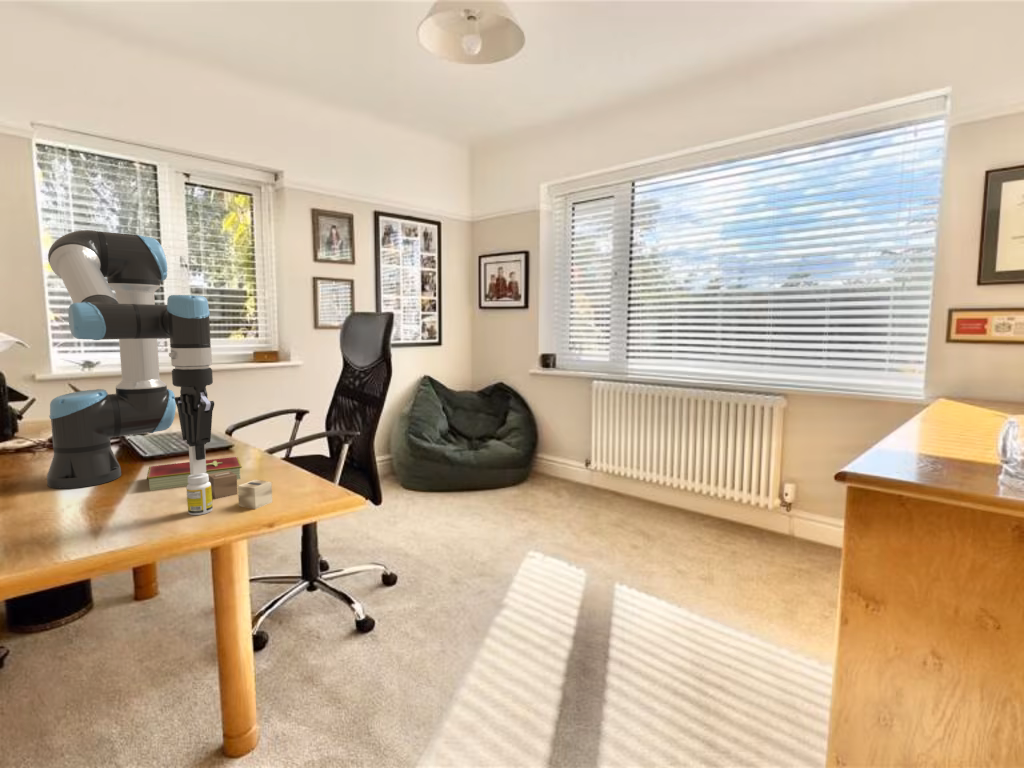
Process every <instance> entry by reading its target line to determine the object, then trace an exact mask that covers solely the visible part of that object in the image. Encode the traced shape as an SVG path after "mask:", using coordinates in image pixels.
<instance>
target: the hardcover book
mask: <svg viewBox="0 0 1024 768" xmlns="http://www.w3.org/2000/svg"><path fill="white" fill-rule="evenodd" d="M242 467H243V466H242V464H241V462H240V459H239V456H229V457H223V458H222V457H220V458H214V459H206V473H207V474H213V473H219V472H225V471H231V472H233V473H234V474H236V475H237V480H241V469H242ZM189 475H192V474H190V461H187V462H186V461H185V462H177V463H169V464H159V465H152V466H151V465H150V466H149V467H148V471H147V475H146V480H148V487H149V491H157V490H164V489H165V490H166V489H173V488H179V487H181V488H182V487H187V485H188V484H189V483H188V476H189Z"/></svg>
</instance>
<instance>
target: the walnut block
mask: <svg viewBox="0 0 1024 768" xmlns="http://www.w3.org/2000/svg"><path fill="white" fill-rule="evenodd" d="M208 476H209V481H208V482H210V483H211V490H212V499H215V500H217V499H223V498H226V497H232V496H235V495H238V479H237V475H236V474H234V473H233V472H231V471H225V472H219V473H213V474H208Z"/></svg>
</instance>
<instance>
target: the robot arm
mask: <svg viewBox="0 0 1024 768" xmlns="http://www.w3.org/2000/svg"><path fill="white" fill-rule="evenodd" d="M47 258H48V259H47V260H48V263H49V265H50V268H51V271H53V273H54V274H55V275H56V276H58V277H59V278H61V280H62V282H63V284H64V286H65V289H66V290H67V292H68V294H69V296H70V299H71V301H72V303H71V304H70V305H69V308H68V313H67V314H68V325H69V329H70V333H71V336H72V337H74V338H75V339H78V340H93V341H100V340H118V342H119V344H118V345H119V357H120V358H119V359H120V368H121V369H120V370H121V381H120V382H119V383H117V384H116V386H115V393H112V394H111V393H108V392H107V390H106V389H103V388H102V389H101V388H97V389H88V390H81V391H75V392H74V391H73V392H69V393H65V394H62V395H58V396H56V397H54V398H53V399H52V400H51V401H50V403H49V415H48V416H49V417H48V418H49V419H50V422H51V423H50V424H51V435H52V436H51V439H52V449H53V456H52V460H51V462H50V466H49V469H48V473H47V476H46V483H47V487H49V488H52V489H77V488H84V487H85V488H86V487H92V486H96V485H102V484H104V483H109V482H112V481H114V480H117V479H119V478H120V477H121V476H122V468H121V465H120V463H119V461H118V459H117V457H116V455H115V453H114V451H113V449H112V444H111V439H112V438H116V437H117V438H119V437H126V436H133V435H141V434H154V433H156V432H157V433H158V432H163V431H166V430H168V429H170V427H171V426H172V424H174V423H173V422H174V420H175V417H176V416H175V415H176V409H177V414H178V419H179V425H180V431H181V436H182V440H183V441H186V444H187V445H188V455H189V456H188V457H189V462H190V474H192V475H197V474H201V473H206V460H207V457H206V444H207V443H211V439H212V438H211V437H212V423H213V411H214V408H215V401H214V400H209V399H208V392H207V388H206V387H207V386H211V385H213V380H214V378H213V376H214V375H213V369H212V368H211V367H210V366H211V365H212V364H213V359H212V357H213V356H212V355H213V354H212V347H211V327H210V326H211V325H210V314H211V311H210V308H209V302H208V299H207V297H205V296H203V295H191V294H188V295H187V294H171V295H168V297H167V301H166V302H167V304H156V303H155V301H156V299H155V292H156V291H158V290H159V288H161V282H163V281H165V280H167V277H168V263H167V258H166V254H165V251H164V249H163V247H162V245H161V243H160V242H159V241H158V240H157V239H156V238H154V237H150V236H144V235H139V234H129V233H121V232H119V233H118V232H112V231H111V232H107V231H99V230H91V229H82V230H81V229H80V230H76V231H72V232H69V233H66V234H64V235H62V236H61V237H59V238H57V239H56V240H55V241H54V242H52V244H51V246H50V248H49V249H48V254H47ZM106 278H107V279H106ZM113 291H114V292H115V293H114V292H113ZM159 339H165V340H166V339H169V347H170V352H169V353H168V357H170V361H171V362H170V365H171V366H172V367H175V368H172V370H171V380H172V385H173V387H178V388H180V389H179V391H180V395H179V396H175V392H174V391H173V390H171V389H169V388H167V387H168V386H167V383H166V382H164V381H163V380H162V379H161V376H160V365H159V347H158V340H159ZM176 407H177V408H176Z"/></svg>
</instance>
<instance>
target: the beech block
mask: <svg viewBox="0 0 1024 768" xmlns="http://www.w3.org/2000/svg"><path fill="white" fill-rule="evenodd" d="M272 483H273V482H272V481H266V480H260V479H253V480H250V481H247V482H245V483H242V484H239V485H238V484H237V495H238V507H242V508H246V509H253V510H257V509H260V508H262V507H264V506H267V505H269V504H272V503H273V488H272V485H273V484H272Z"/></svg>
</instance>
